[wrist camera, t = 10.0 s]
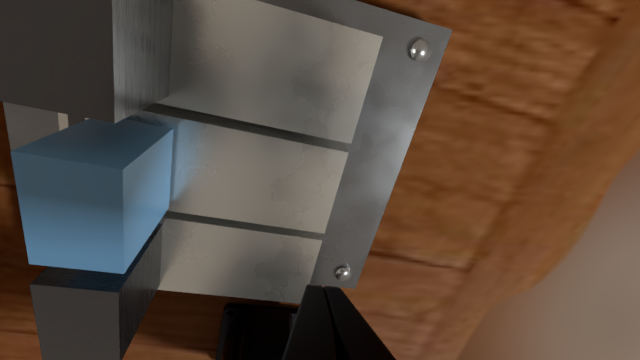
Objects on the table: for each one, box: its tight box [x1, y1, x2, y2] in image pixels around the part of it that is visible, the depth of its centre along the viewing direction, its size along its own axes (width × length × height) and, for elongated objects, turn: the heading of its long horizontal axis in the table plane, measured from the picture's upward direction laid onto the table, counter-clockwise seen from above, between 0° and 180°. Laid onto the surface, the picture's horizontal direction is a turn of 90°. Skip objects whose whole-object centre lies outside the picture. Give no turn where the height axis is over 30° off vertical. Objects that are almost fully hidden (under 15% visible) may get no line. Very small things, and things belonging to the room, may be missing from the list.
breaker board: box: [0, 0, 452, 360], centre depth 13 cm, size 16×19×8 cm
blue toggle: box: [10, 119, 173, 274], centre depth 10 cm, size 4×2×4 cm
